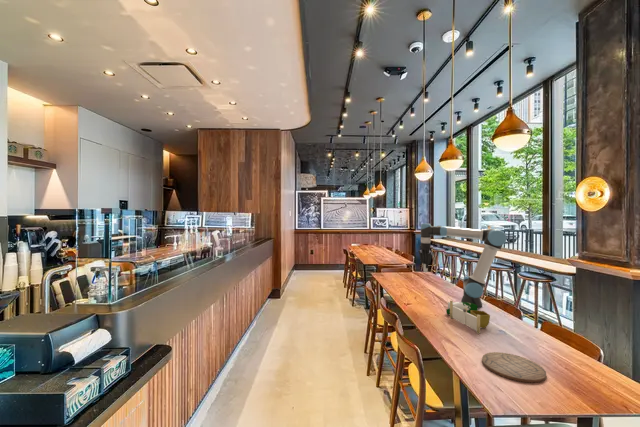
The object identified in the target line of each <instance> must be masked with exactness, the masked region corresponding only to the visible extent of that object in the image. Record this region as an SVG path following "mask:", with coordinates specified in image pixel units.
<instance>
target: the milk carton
mask: <svg viewBox="0 0 640 427" xmlns="http://www.w3.org/2000/svg"><path fill="white" fill-rule="evenodd" d="M453 306H455V307H457V308H459V309H461V310H463V309H464V308H467V313H469V314H471V311H470V310H473V311H479V310H478V309H479V308H477V305H476V304H473V303H468V302H461V301H456V302H454V301H453ZM445 312H446V314H447V315H448V316H450V301H449V302H447V308H446V310H445Z"/></svg>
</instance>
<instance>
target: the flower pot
mask: <svg viewBox="0 0 640 427" xmlns="http://www.w3.org/2000/svg"><path fill="white" fill-rule="evenodd" d="M470 311H471V315H473V316H475V317H477V315H480V329H486V328H487V327H488V325H489V323H490V319H491V315H490V314H489V313H487V312H486V311H484V310H478V311H473V310H470Z"/></svg>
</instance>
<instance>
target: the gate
mask: <svg viewBox="0 0 640 427" xmlns="http://www.w3.org/2000/svg"><path fill="white" fill-rule="evenodd" d="M466 313H467V312H466V309H463V310H461V309H459V308H457V307H455V306H453V320H456V321H457V322H459V323H461V324H463V325H464V324H465V325H464V326H467V325H466Z"/></svg>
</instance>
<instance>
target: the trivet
mask: <svg viewBox="0 0 640 427" xmlns="http://www.w3.org/2000/svg"><path fill="white" fill-rule="evenodd" d="M481 362H482V365H483V366H484V367H485V369H487V370H488V371H490V372H491V373H493V374H495V375H497V376H498V377H501V378H504V379H506V380H510V381H513V382H518V383H524V384H541V383H543V382H545V381H546V379H547V371H546V369H545V368H544V367H543V366H541V365H540V364H539V363H537V362H535V361H533V360H531V359H529V358H526V357H523V356H520V355H516V354H513V353H507V352H496V351H494V352H493V351H492V352H487V353H485V354H483V355H482V358H481Z"/></svg>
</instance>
